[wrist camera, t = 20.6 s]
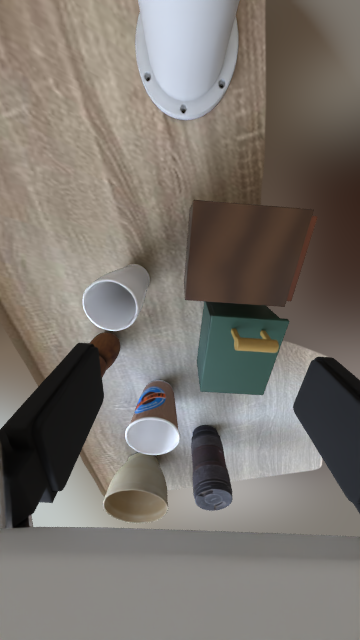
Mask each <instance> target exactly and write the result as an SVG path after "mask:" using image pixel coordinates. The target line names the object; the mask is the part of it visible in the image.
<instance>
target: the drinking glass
mask: <svg viewBox="0 0 360 640" xmlns="http://www.w3.org/2000/svg"><path fill="white" fill-rule="evenodd" d="M149 283H150V277H149V274H148V272H147V270H146V269H145V268H144V267H142V266H140V265H137V264H131V265H128V266H126V267H124V268H121V269H118V270H115V271H112V272H109V273H106V274H104V275H103V276H101V277H99V278H98V279H96V280H95V281H94V282H93V283H91V284H90V285H89V286H88V287H87V288H86V290H85V292H84V295H83V301H82V302H83V308H84V311H85V313H86V315H87V317H88V318H89V319H90V320H91V321H92V322H93V323H94V324H95V325H97V326H98V327H100V328H102V329H105V330H109V331H119V330H123V329H126V328H128V327H129V326H131V325H132V324H133V323H134V321H135V320H136V318H137V317H138V315H139V313H140V311H141V309H142V307H143V304H144V301H145V297H146V292H147V288H148V286H149Z"/></svg>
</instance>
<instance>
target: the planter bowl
mask: <svg viewBox="0 0 360 640" xmlns="http://www.w3.org/2000/svg"><path fill="white" fill-rule="evenodd" d="M103 508H104V509H105V511H106V512H107V513H108V514H109V515H111V516H112V517H114V518H116V519H119V520H122V521H125V522H130V523H148V522H153V521H157V520H159V519H161V518H162V517H164V516H165V515H166V513H167V511H168V502H167V486H166V481H165V477H164V475H163V472H162V470H161V468H160V467H159V461H158V460H157V458H156V457H154V456H152V455H148V454H143V453H137V454H133V455H131V456H130V457H129V458H128V459H127V462H126V463H125V464H124V465H123V466H122V467H121V468H120V469H119V470H118V472H117V473H116V474H115V476H114V478H113V479H112V481H111V483H110V486H109V488H108V491H107V494H106V496H105V498H104V501H103Z"/></svg>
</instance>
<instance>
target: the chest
mask: <svg viewBox="0 0 360 640" xmlns="http://www.w3.org/2000/svg"><path fill="white" fill-rule="evenodd" d="M212 314H221V315H236V316H251V317H266V318H279V317H278V316H277V315H276V314H274V313H273V312H272V311H271V310H270V309H269V308H268V307H267V306H266V305H252V304H237V303H222V302H208V301H204V309H203V317H202V325H201V332H200V340H199V348H198V356H197V367H198V376H199V384H200V386H201V379H202V373H203V366H204V360H205V354H206V347H207V341H208V335H209V328H210V322H211V315H212Z"/></svg>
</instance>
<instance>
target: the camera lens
mask: <svg viewBox="0 0 360 640" xmlns="http://www.w3.org/2000/svg"><path fill="white" fill-rule="evenodd" d="M191 449H192V462H193V493H194V498H195V502H196V504H197V505H198V506H199V507H200V508H202V509H205V510H220V509H223V508H225V507H227V506H228V505H229V504H231V502H232V489H231V484H230V478H229V474H228V470H227V468H226V463H225V457H224V451H223V446H222V442H221V439H220V436H219V435H218V432H217V430H216V429H215V428H214V427H212V426H208V425H203V426H199V427H197V428H196V429H195V430H194V432H193V437H192V445H191Z"/></svg>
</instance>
